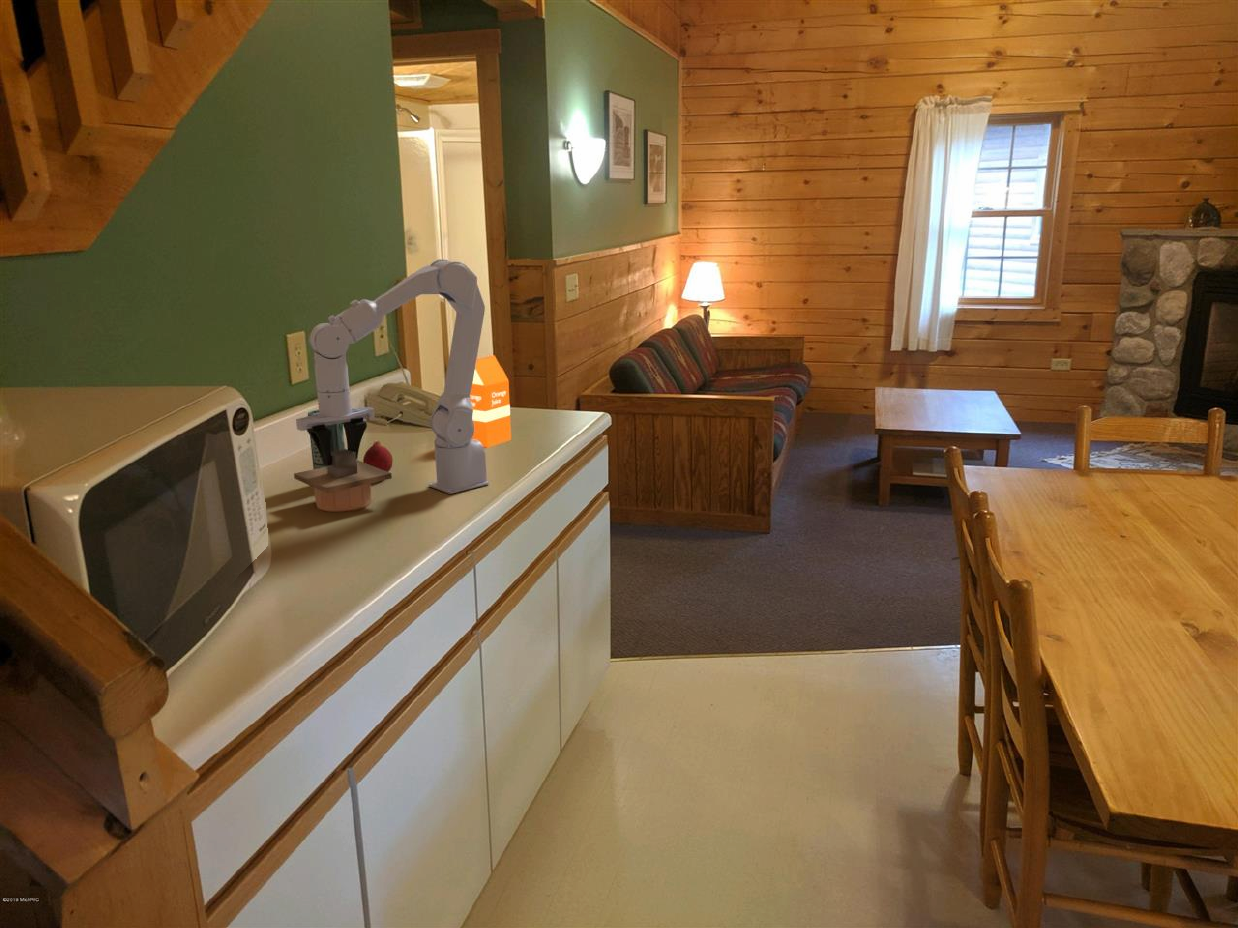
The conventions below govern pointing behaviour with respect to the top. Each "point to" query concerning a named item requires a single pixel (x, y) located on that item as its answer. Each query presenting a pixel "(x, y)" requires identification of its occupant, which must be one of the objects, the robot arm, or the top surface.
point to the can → (335, 442)
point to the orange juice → (490, 403)
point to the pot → (344, 499)
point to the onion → (378, 457)
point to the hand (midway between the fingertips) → (340, 461)
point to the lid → (342, 473)
